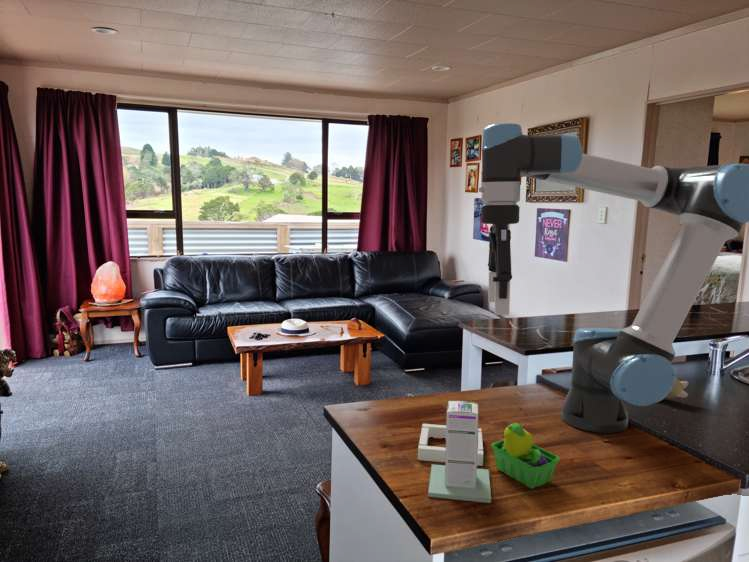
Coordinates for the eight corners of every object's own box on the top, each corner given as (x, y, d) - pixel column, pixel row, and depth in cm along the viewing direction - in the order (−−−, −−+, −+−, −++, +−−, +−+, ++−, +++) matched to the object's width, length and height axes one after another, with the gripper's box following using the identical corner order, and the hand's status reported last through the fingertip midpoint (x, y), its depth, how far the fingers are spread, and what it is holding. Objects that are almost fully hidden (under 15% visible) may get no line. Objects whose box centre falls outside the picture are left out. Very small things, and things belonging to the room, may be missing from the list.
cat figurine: (638, 371, 158) (685, 368, 151) (645, 393, 160) (692, 390, 152) (633, 386, 152) (682, 383, 145) (640, 409, 154) (689, 407, 146)
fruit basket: (560, 483, 106) (564, 426, 104) (527, 495, 101) (531, 436, 100) (515, 459, 115) (518, 406, 114) (483, 469, 111) (486, 415, 109)
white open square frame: (480, 439, 125) (481, 428, 125) (482, 465, 112) (483, 454, 112) (422, 434, 127) (422, 423, 127) (417, 459, 114) (418, 448, 114)
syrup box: (476, 490, 101) (480, 413, 99) (443, 486, 102) (446, 410, 100) (475, 475, 107) (479, 401, 105) (444, 472, 108) (447, 399, 105)
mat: (488, 473, 109) (488, 469, 109) (491, 503, 98) (491, 498, 98) (431, 468, 111) (431, 464, 111) (428, 496, 100) (428, 492, 100)
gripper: (476, 203, 125) (475, 297, 128) (486, 204, 101) (484, 320, 104) (511, 203, 125) (509, 297, 128) (529, 204, 100) (526, 321, 103)
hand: (498, 308), depth 116 cm, fingers open, 13 cm apart
